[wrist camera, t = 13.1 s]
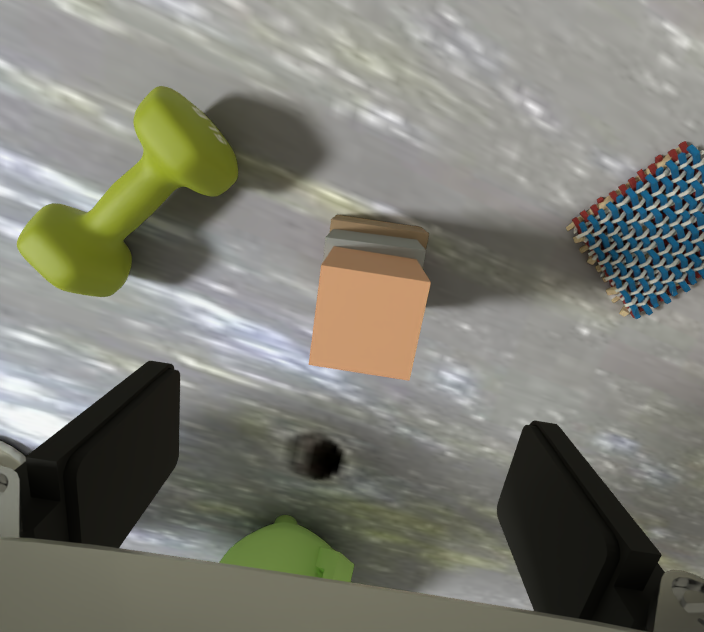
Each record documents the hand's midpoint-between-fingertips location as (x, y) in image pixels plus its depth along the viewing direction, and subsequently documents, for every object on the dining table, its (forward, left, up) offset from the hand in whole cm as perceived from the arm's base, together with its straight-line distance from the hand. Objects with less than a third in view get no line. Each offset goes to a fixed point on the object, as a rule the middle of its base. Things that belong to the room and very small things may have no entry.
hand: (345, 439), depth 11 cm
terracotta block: (0, -1, -15) cm, 15 cm away
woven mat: (+6, -23, -25) cm, 34 cm away
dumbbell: (+3, +18, -25) cm, 31 cm away
